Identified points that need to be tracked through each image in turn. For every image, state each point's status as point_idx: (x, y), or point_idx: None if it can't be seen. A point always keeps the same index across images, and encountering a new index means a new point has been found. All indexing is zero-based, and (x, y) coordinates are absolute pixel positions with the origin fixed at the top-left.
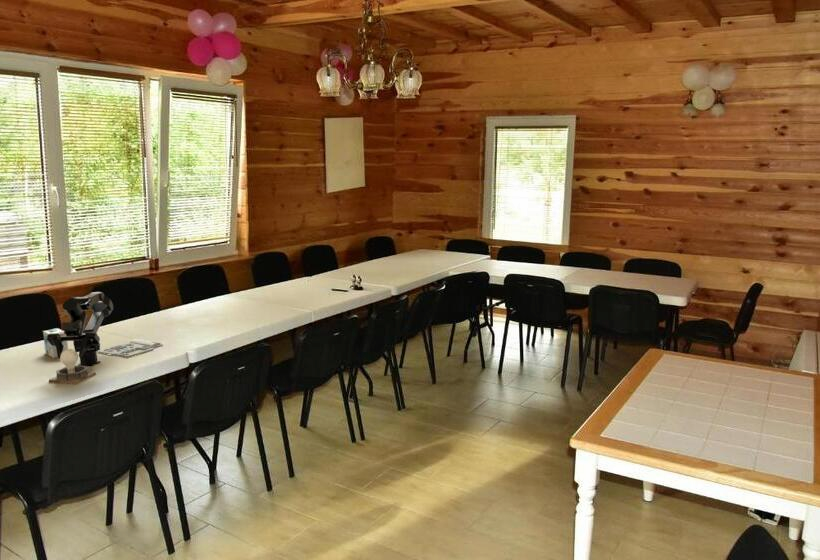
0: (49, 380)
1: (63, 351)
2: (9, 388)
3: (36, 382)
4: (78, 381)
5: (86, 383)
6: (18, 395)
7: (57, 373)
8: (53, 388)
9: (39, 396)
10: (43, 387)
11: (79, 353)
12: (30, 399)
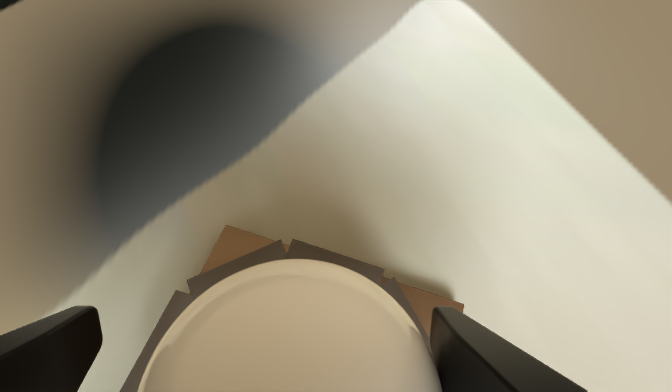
0: (454, 302)
1: (376, 343)
2: (658, 210)
3: (560, 318)
4: (209, 263)
5: (149, 242)
6: (499, 96)
7: (393, 287)
8: (352, 174)
9: (371, 71)
10: (431, 200)
11: (50, 326)
12: (396, 44)
